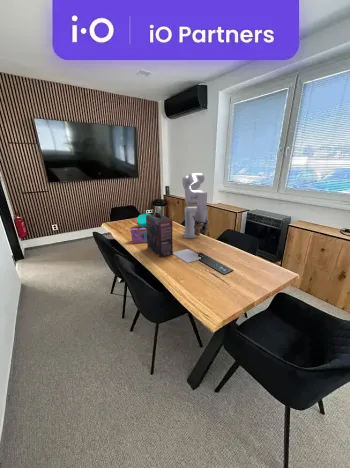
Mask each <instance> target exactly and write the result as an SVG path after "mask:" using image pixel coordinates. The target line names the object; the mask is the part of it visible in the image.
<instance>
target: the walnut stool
mask: <svg viewBox="0 0 350 468" xmlns="http://www.w3.org/2000/svg"><path fill="white" fill-rule="evenodd" d="M204 224H205V223H204ZM208 225H209V223H207V224H206V228H205V230H202V227H203V222H199V224H197V225H196V224H195V225H194V235H196V237H200V235H201V234H207V233H208Z"/></svg>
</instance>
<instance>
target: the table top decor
mask: <svg viewBox="0 0 350 468" xmlns="http://www.w3.org/2000/svg"><path fill="white" fill-rule="evenodd" d="M146 215H152V214H150V213H143V214H139V215H138V217H137V218H136V219H137V224H138V225H139V227H146V226H147V225H146Z"/></svg>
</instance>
